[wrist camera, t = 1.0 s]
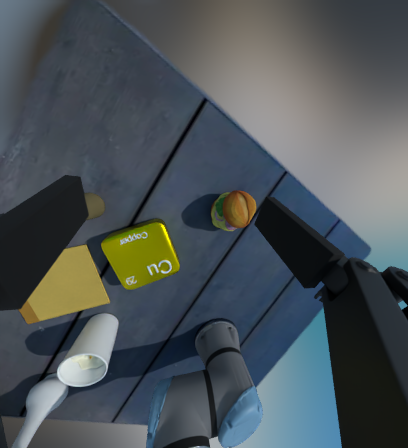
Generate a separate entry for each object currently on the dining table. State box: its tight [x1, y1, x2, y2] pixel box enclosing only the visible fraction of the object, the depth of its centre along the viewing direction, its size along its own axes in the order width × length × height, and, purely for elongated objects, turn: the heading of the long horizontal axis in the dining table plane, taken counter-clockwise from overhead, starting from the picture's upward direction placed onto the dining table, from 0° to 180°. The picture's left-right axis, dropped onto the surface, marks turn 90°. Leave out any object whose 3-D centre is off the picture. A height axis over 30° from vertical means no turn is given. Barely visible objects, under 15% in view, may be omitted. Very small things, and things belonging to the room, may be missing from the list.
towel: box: [18, 244, 110, 324], centre depth 41 cm, size 18×20×1 cm
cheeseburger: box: [211, 191, 256, 231], centre depth 41 cm, size 10×11×10 cm
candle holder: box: [57, 313, 119, 387], centre depth 41 cm, size 10×10×12 cm
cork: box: [84, 193, 105, 220], centre depth 33 cm, size 6×6×11 cm
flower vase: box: [11, 373, 69, 448], centre depth 37 cm, size 13×18×25 cm
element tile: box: [101, 219, 180, 290], centre depth 41 cm, size 15×15×5 cm
